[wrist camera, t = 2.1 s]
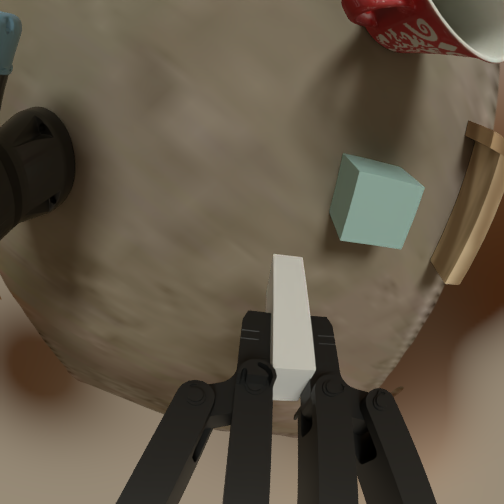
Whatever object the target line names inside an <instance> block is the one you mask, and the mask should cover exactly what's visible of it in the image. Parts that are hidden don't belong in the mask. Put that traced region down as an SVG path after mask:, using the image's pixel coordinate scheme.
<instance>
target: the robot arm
mask: <svg viewBox="0 0 504 504" xmlns="http://www.w3.org/2000/svg"><path fill="white" fill-rule="evenodd" d="M21 32H22V23H21V21H20V19H19V18H18V17H17V16H16V15H14V14H10V13H6V12H1V11H0V109H1V103H2V99H3V95H4V90H5V86H6V83H7V79H8V75H9V74H10V73H11V72H12V69H13V65H12V62H13V59H14V55H15V52H16V48H17V45H18V42H19V39H20V36H21ZM74 173H75V159H74V152H73V147H72V143H71V140H70V137H69V134H68V132H67V130H66V128H65V126H64V125H63V123H62V122H61V120H60V119H59V118H58V117H57V116H56V115H55V114H54V113H53V112H51V111H50V110H48V109H46V108H43V107H32V108H29V109H26V110H23V111H20V112H18V113H16V114H15V115H13V116H12V117H11V118H10V119H9V120H8V121H6V122H5V123H4V124H3V125H2V126H1V127H0V240H1V239H2V238H3V237H4V236H5V235H6V234H7V233H8V232H9V231H10V230H12V229H13V228H14V227H15V226H16V225H17V224H18V223H21V222H23V221H26V220H29V219H32V218H35V217H38V216H41V215H44V214H47V213H49V212H51V211H52V210H54V209H55V208H56V207H57V206H59V205H60V204H61V203H62V202H63V201H64V200H65V199H66V198H67V196H68V194H69V192H70V190H71V188H72V184H73V180H74ZM300 396H301V406H300V408H299V409H298V411H297V412H296V414H295V415H294V420H296V419H297V418H298V501H297V504H358V485H357V476H358V479H359V482H360V485H361V488H362V491H363V494H364V497H365V500H366V503H367V504H437V503H436V500H435V497H434V495H433V492H432V489H431V487H430V483H429V481H428V478H427V475H426V473H425V470H424V468H423V465H422V463H421V460H420V457H419V455H418V453H417V450H416V448H415V445H414V443H413V440H412V438H411V436H410V433H409V431H408V429H407V426H406V424H405V422H404V420H403V417H402V415H401V413H400V411H399V408H398V406H397V404H396V402H395V400H394V397H393V396H392V395H391V393H390V392H388V391H387V390H385V389H381V388H377V389H373V390H372V391H370V392H369V393H368V392H365V391H361V390H358V389H355V388H352V387H350V386H349V385H347V384H346V383H345V381H344V380H343V379H342V377H341V375H340V370H339V363H338V357H337V351H336V345H335V339H334V333H333V327H332V325H331V323H330V322H329V320H328V319H327V317H318V316H310V309H309V301H308V293H307V286H306V278H305V271H304V264H303V257H295V256H287V255H278V254H273V259H272V265H271V270H270V275H269V281H268V286H267V291H266V312H257V311H248V312H247V313H246V315H245V316H244V318H243V321H242V329H241V338H240V346H239V355H238V364H237V370H236V372H235V374H234V375H233V376H232V377H231V378H230V379H229V380H227V381H224V382H221V383H215V384H209V385H208V384H207V383H205V382H203V381H199V380H192V381H188V382H186V383H184V384H182V385H181V387H180V388H179V389H178V391H177V392H176V394H175V396H174V398H173V400H172V402H171V403H170V405H169V407H168V409H167V411H166V413H165V414H164V416H163V418H162V420H161V422H160V424H159V425H158V427H157V429H156V431H155V433H154V435H153V436H152V438H151V440H150V442H149V444H148V446H147V448H146V449H145V451H144V453H143V455H142V457H141V459H140V460H139V462H138V464H137V466H136V468H135V469H134V471H133V473H132V475H131V477H130V479H129V480H128V482H127V484H126V486H125V488H124V490H123V491H122V493H121V495H120V497H119V499H118V501H117V502H116V504H178V503H179V501H180V499H181V497H182V495H183V493H184V491H185V489H186V487H187V485H188V482H189V480H190V478H191V476H192V473H193V471H194V470H195V467H196V465H197V463H198V461H199V459H200V457H201V454H202V452H203V450H204V448H205V445H206V443H207V441H208V439H209V436H210V434H211V432H212V430H213V428H216V427H222V426H228V425H231V427H230V438H229V447H228V456H227V465H226V475H225V485H224V495H223V504H269V493H270V469H271V444H272V443H271V442H272V408H273V400H284V401H298V399H299V398H300Z"/></svg>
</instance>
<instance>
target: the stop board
mask: <svg viewBox="0 0 504 504" xmlns="http://www.w3.org/2000/svg"><path fill="white" fill-rule="evenodd" d="M465 136H467V137H469V138H471V139H473V140H475V144H474V148H473V151H472V155H471V158H470V162H469V165H468V168H467V171H466V175H465V178H464V181H463V184H462V186H461V189H460V192H459V195H458V198H457V200H456V203H455V205H454V208H453V211H452V213H451V215H450V218H449V220H448V223H447V225H446V227H445V230H444V232H443V234H442V236H441V239H440V241H439V243H438V245H437V247H436V249H435V251H434V253H433V256H432V258H431V260H430V261H431V263H432V264H433V266H434V267H435V269H436V270H437V272H438V273H439V275H440V277H441V278H442V280H443V281H444V283H445V284H455V285H459V284H460V283H461V281H462V279H463V278H464V276H465V274H466V272H467V270H468V269H469V267H470V265H471V263H472V262H473V260H474V258H475V256H476V254H477V252H478V250H479V248H480V246H481V244H482V242H483V240H484V238H485V236H486V233H487V231H488V229H489V227H490V225H491V223H492V220H493V218H494V216H495V213H496V211H497V208H498V206H499V203H500V201H501V198H502V195H503V193H504V137H502V136H501V135H500V134H498V133H496V132H495V131H493V130H491V129H488V128H486V127H483V126H481V125H479V124H476V123H473V122H471V121H468V125H467V129H466V133H465Z"/></svg>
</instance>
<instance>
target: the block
mask: <svg viewBox="0 0 504 504" xmlns="http://www.w3.org/2000/svg"><path fill="white" fill-rule="evenodd" d="M424 188H425V187H424V186H423V185H421V184H420V183H419V182H418V181H417V180H416V179H414V178H413V177H412V176H411V175H410V174H408V173H407V172H406V171H405V170H403V169H402V168H401V167H399V166H395V165H391V164H387V163H383V162H380V161H376V160H371V159H367V158H363V157H359V156H354V155H349V154H345V153H343V156H342V160H341V165H340V169H339V174H338V178H337V182H336V186H335V191H334V195H333V199H332V203H331V207H330V211H329V213H330V216H331V218H332V221H333V223H334V226H335V228H336V231H337V234H338V236H339V239H340V241H347V242H355V243H362V244H369V245H376V246H383V247H389V248H396V249H401V248H402V246H403V244H404V241H405V239H406V237H407V234H408V232H409V229H410V227H411V224H412V222H413V219H414V216H415V214H416V211H417V208H418V206H419V203H420V200H421V197H422V194H423V191H424Z"/></svg>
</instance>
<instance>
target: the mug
mask: <svg viewBox="0 0 504 504" xmlns="http://www.w3.org/2000/svg"><path fill="white" fill-rule="evenodd" d="M341 3H342V7H343V9H344V11H345V13H346V15H347V17H348V19H349V20H350V21H351V22H353V23H355V24H358V25H361V26H365V27H366V29H367V31H368V32H369V34H370V35H371V36H372V37H373V39H374V40H376V41H377V42H378V43H379V44H380V45H382V46H383V47H385V48H387V49H389V50H392V51H394V52H399V53H428V54H446V55H456V56H463V57H473V58H479V59H481V60H483V61H486V62H489V63H502V62H504V0H342V2H341Z"/></svg>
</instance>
